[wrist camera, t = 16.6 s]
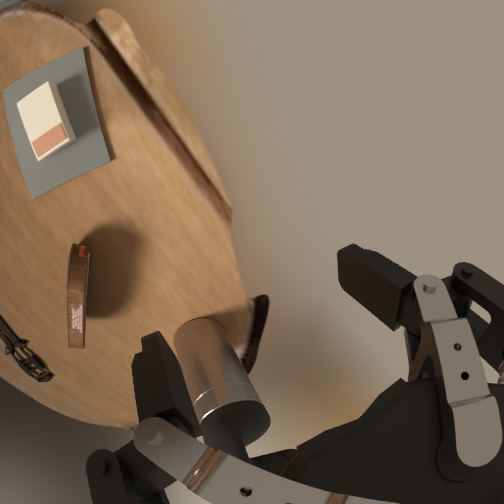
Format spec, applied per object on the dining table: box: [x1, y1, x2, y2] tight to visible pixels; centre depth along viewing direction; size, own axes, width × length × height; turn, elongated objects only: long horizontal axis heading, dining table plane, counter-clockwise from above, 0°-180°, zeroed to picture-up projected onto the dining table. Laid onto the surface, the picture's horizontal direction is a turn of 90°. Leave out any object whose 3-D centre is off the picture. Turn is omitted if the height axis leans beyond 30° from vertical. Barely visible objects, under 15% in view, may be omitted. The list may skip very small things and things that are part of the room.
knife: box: [0, 319, 52, 382], centre depth 30 cm, size 25×6×1 cm, turn 10°
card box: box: [17, 81, 76, 161], centre depth 21 cm, size 4×8×4 cm, turn 18°
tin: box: [65, 243, 91, 349], centre depth 30 cm, size 15×3×8 cm, turn 158°
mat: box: [3, 47, 111, 199], centre depth 23 cm, size 16×12×1 cm
